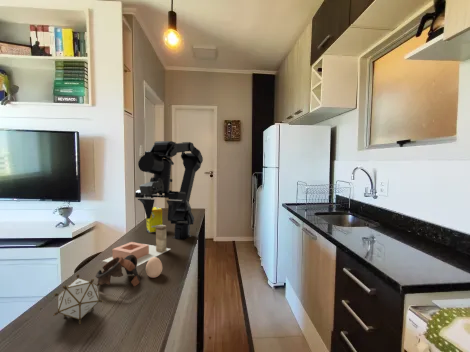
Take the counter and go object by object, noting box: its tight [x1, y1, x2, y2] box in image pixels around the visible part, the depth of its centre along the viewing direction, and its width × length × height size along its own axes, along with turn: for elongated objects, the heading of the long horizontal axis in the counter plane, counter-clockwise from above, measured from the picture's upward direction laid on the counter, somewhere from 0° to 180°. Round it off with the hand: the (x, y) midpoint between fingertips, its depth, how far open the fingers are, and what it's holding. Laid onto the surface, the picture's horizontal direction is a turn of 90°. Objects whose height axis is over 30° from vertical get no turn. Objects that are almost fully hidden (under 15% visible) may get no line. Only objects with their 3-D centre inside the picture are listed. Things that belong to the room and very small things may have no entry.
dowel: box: [155, 224, 167, 253], centre depth 87 cm, size 3×3×9 cm
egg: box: [145, 256, 163, 279], centre depth 68 cm, size 4×4×6 cm
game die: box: [53, 273, 104, 325], centre depth 51 cm, size 9×8×10 cm
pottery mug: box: [95, 255, 141, 287], centre depth 65 cm, size 12×10×8 cm
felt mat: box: [102, 243, 171, 267], centre depth 84 cm, size 18×13×1 cm
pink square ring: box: [111, 241, 150, 259], centre depth 82 cm, size 8×8×3 cm
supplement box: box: [145, 206, 163, 234], centre depth 112 cm, size 6×6×11 cm
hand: (158, 219), depth 86 cm, fingers open, 9 cm apart
